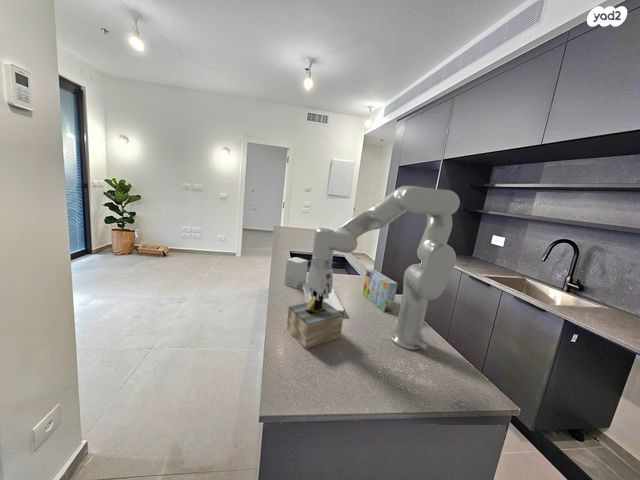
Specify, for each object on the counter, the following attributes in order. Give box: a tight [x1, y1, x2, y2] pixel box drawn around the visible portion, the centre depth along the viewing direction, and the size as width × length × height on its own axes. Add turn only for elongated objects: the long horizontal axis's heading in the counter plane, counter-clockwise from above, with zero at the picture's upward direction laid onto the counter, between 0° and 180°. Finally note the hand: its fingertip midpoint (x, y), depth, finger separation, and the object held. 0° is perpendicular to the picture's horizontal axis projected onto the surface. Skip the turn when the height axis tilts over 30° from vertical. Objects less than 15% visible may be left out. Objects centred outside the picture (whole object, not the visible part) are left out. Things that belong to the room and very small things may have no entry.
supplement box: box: [284, 256, 309, 289], centre depth 150 cm, size 9×9×15 cm
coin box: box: [286, 301, 344, 350], centre depth 103 cm, size 14×16×10 cm
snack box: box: [362, 269, 399, 313], centre depth 139 cm, size 21×6×15 cm, turn 22°
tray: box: [302, 282, 345, 313], centre depth 134 cm, size 17×31×4 cm, turn 9°
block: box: [306, 295, 326, 313], centre depth 101 cm, size 2×5×6 cm
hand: (315, 307), depth 102 cm, fingers closed on block, 1 cm apart
